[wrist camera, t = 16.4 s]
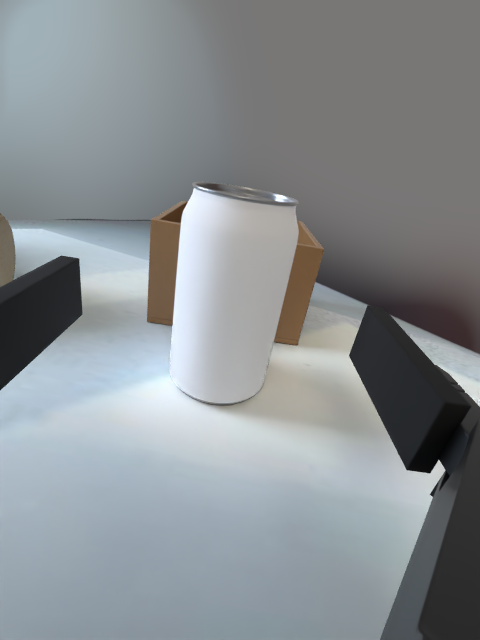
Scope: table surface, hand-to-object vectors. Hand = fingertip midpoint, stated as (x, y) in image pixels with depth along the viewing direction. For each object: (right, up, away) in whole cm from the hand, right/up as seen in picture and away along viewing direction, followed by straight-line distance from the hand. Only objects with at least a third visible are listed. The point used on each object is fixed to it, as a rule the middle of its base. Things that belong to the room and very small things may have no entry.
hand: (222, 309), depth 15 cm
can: (-1, -5, +7) cm, 9 cm away
